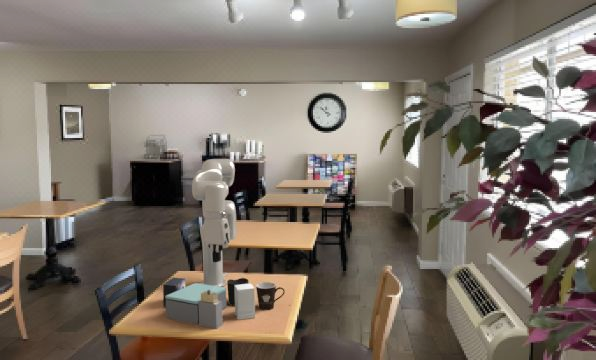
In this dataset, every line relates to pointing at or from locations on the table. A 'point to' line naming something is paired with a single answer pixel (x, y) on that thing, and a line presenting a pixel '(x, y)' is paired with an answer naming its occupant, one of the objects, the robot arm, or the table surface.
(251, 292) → the supplement box
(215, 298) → the latch bolt
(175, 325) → the table surface
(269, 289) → the coffee mug
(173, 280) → the small box
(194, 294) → the lid
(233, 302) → the pen holder
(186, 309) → the storage box
